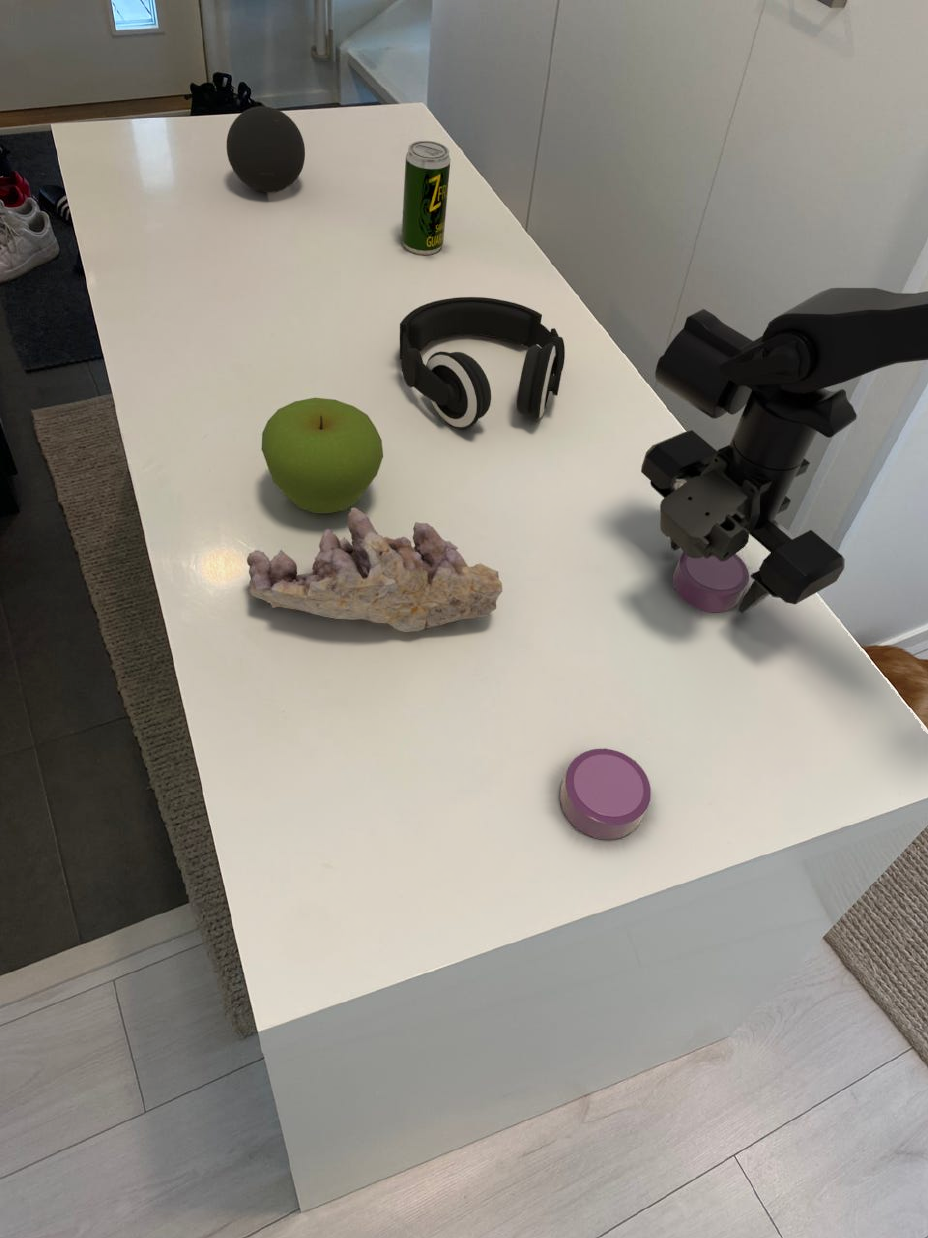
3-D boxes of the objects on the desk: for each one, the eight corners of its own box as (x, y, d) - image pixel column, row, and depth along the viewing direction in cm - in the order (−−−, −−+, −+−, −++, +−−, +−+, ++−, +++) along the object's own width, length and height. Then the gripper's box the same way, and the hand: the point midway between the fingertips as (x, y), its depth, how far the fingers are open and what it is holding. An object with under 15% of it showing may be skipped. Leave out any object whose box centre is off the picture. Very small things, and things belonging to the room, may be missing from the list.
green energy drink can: (393, 246, 119) (397, 150, 110) (415, 229, 122) (421, 135, 113) (429, 260, 118) (436, 164, 109) (450, 243, 121) (459, 149, 112)
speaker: (214, 187, 124) (206, 108, 117) (264, 163, 130) (259, 86, 122) (272, 214, 121) (267, 134, 114) (321, 188, 127) (320, 110, 119)
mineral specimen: (252, 631, 71) (258, 499, 70) (241, 616, 80) (247, 500, 79) (504, 640, 77) (514, 519, 76) (466, 625, 87) (474, 517, 86)
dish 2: (754, 596, 86) (764, 578, 84) (705, 622, 84) (714, 605, 82) (706, 552, 89) (714, 533, 88) (658, 576, 87) (665, 558, 85)
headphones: (432, 378, 89) (380, 286, 102) (428, 448, 94) (379, 352, 107) (603, 362, 93) (531, 276, 107) (589, 430, 99) (523, 340, 112)
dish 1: (660, 813, 71) (669, 797, 69) (596, 855, 68) (603, 840, 66) (606, 751, 74) (613, 734, 72) (542, 788, 71) (548, 772, 69)
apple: (402, 502, 90) (408, 419, 82) (319, 555, 84) (317, 471, 76) (326, 445, 94) (326, 361, 86) (242, 492, 88) (233, 406, 81)
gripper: (616, 409, 75) (578, 545, 87) (786, 558, 66) (718, 686, 78) (713, 371, 80) (665, 505, 92) (885, 505, 71) (806, 634, 83)
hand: (708, 578), depth 86 cm, fingers open, 8 cm apart
